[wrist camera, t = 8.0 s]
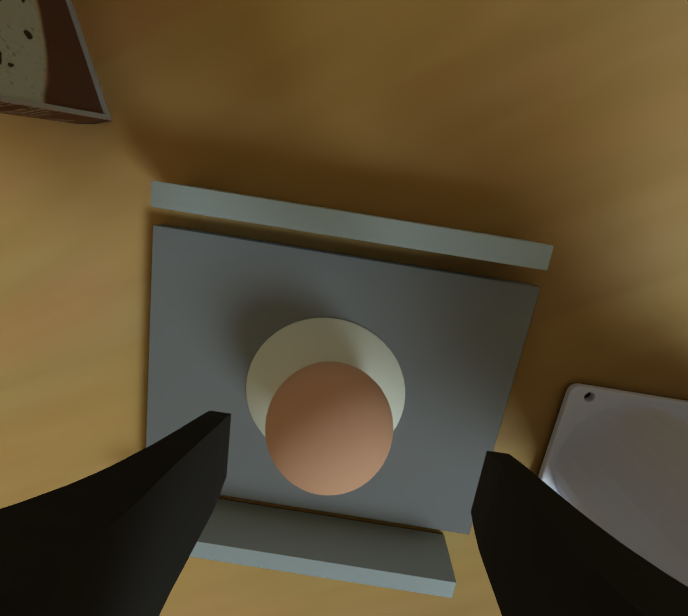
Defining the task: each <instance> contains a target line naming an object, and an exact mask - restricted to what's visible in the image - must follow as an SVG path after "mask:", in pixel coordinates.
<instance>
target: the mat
mask: <svg viewBox="0 0 688 616" xmlns="http://www.w3.org/2000/svg"><path fill="white" fill-rule="evenodd" d="M539 290H540V287H537V286H535V285H533V284H527V283H521V282H515V281H508V280H502V279H496V278H490V277H484V276H477V275H471V274H465V273H459V272H453V271H446V270H440V269H434V268H428V267H422V266H415V265H409V264H403V263H397V262H391V261H385V260H378V259H372V258H366V257H360V256H354V255H347V254H341V253H335V252H329V251H323V250H316V249H310V248H304V247H298V246H292V245H285V244H279V243H273V242H267V241H261V240H254V239H248V238H242V237H236V236H230V235H223V234H217V233H211V232H205V231H199V230H192V229H186V228H180V227H174V226H168V225H153V245H152V277H151V308H150V339H149V370H148V402H147V433H146V448H147V447H148V446H150V445H152V444H154V443H156V442H157V441H159V440H161V439H163V438H164V437H166V436H168V435H169V434H171V433H173V432H174V431H176V430H178V429H179V428H181V427H183V426H184V425H186V424H188V423H189V422H191V421H193V420H194V419H196V418H197V417H199V416H201V415H202V414H204V413H206V412H208V411H217V412H224V413H231V424H230V438H229V451H228V465H227V477H226V479H225V482H224V485H223V487H222V490H221V493H220V495H224V496H231V497H237V498H243V499H250V500H256V501H262V502H268V503H275V504H281V505H287V506H294V507H300V508H306V509H312V510H319V511H325V512H331V513H337V514H344V515H350V516H356V517H363V518H369V519H375V520H381V521H388V522H394V523H400V524H406V525H413V526H419V527H425V528H432V529H438V530H444V531H450V532H457V533H463V534H469V532H470V529H471V525H472V522H473V521H472V516H471V509H472V505H473V501H474V497H475V493H476V490H477V486H478V482H479V478H480V475H481V471H482V467H483V463H484V459H485V456H486V452H487V451H492V452H493V449H494V446H495V442H496V439H497V435H498V432H499V429H500V425H501V422H502V418H503V415H504V411H505V408H506V404H507V401H508V397H509V394H510V391H511V387H512V384H513V380H514V377H515V373H516V370H517V366H518V363H519V359H520V356H521V353H522V349H523V346H524V342H525V339H526V335H527V332H528V328H529V325H530V321H531V318H532V315H533V311H534V308H535V304H536V301H537V297H538V294H539ZM320 362H341V363H345V364H348V365H351V366H354V367H356V368H358V369H360V370H362V371H363V372H365V373H366V374H368V375H369V376H370V377H371V378H372V379H373V380H374V381H375V382H376V383H377V384H378V385H379V386H380V388H381V389H382V391H383V393H384V394H385V396H386V398H387V400H388V403H389V405H390V408H391V412H392V417H393V438H392V443H391V448H390V451H389V453H388V456H387V458H386V460H385V462H384V464H383V465H382V467H381V468H380V470H379V471H378V472H377V473H376V474H375V475H374V476H373V478H371V479H370V480H369V481H368V482H367V483H365V484H364V485H362V486H361V487H359V488H357V489H355V490H353V491H350V492H347V493H344V494H339V495H318V494H313V493H309V492H307V491H304V490H302V489H300V488H299V487H297V486H295V485H293V484H292V483H291V482H289V481H288V480H287V479H286V478H285V477H284V476H283V475H282V474H281V473H280V471H279V470H278V469H277V467H276V466H275V464H274V462H273V460H272V458H271V456H270V454H269V451H268V447H267V443H266V438H265V422H266V415H267V412H268V408H269V405H270V402H271V400H272V398H273V396H274V394H275V393H276V391H277V389H278V388H279V387H280V386H281V384H282V383H283V382H284V381H285V380H286V379H287V378H288V377H289V376H291V375H292V374H293V373H295V372H296V371H298V370H300V369H301V368H303V367H306V366H308V365H311V364H315V363H320Z"/></svg>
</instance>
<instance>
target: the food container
mask: <svg viewBox="0 0 688 616" xmlns="http://www.w3.org/2000/svg"><path fill="white" fill-rule="evenodd" d="M0 113H4V114H12V115H19V116H26V117H33V118H40V119H47V120H54V121H61V122H68V123H76V124H97V123H102V122H108V121H112V119H111V116H110V113H109V110H108V107H107V104H106V101H105V98H104V95H103V92H102V89H101V86H100V83H99V80H98V77H97V74H96V71H95V68H94V65H93V62H92V59H91V56H90V53H89V50H88V47H87V44H86V41H85V38H84V35H83V32H82V29H81V26H80V23H79V20H78V17H77V14H76V11H75V8H74V5H73V2H72V0H0Z"/></svg>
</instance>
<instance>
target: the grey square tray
mask: <svg viewBox="0 0 688 616" xmlns="http://www.w3.org/2000/svg"><path fill="white" fill-rule="evenodd" d="M151 207H156V208H163V209H169V210H175V211H181V212H187V213H193V214H200V215H206V216H212V217H218V218H224V219H231V220H237V221H243V222H249V223H255V224H262V225H268V226H274V227H280V228H286V229H293V230H299V231H305V232H311V233H317V234H323V235H330V236H336V237H342V238H348V239H354V240H361V241H367V242H373V243H379V244H385V245H392V246H398V247H404V248H410V249H416V250H423V251H429V252H435V253H441V254H447V255H453V256H460V257H466V258H472V259H478V260H484V261H491V262H497V263H503V264H509V265H515V266H522V267H528V268H534V269H540V270H546V271H547V269H548V266H549V262H550V259H551V255H552V252H553V248H554V246H553V245H548V244H543V243H539V242H534V241H529V240H524V239H518V238H512V237H505V236H499V235H493V234H487V233H481V232H474V231H468V230H462V229H456V228H450V227H444V226H437V225H431V224H425V223H419V222H413V221H406V220H400V219H394V218H388V217H382V216H376V215H369V214H363V213H357V212H351V211H345V210H338V209H332V208H326V207H320V206H314V205H308V204H301V203H295V202H289V201H283V200H277V199H270V198H264V197H258V196H252V195H246V194H240V193H233V192H227V191H221V190H215V189H209V188H202V187H196V186H190V185H184V184H176V183H167V182H159V181H152V186H151ZM190 557H196V558H203V559H209V560H215V561H222V562H228V563H234V564H240V565H247V566H253V567H259V568H266V569H272V570H278V571H285V572H291V573H297V574H303V575H310V576H316V577H322V578H329V579H335V580H341V581H347V582H354V583H360V584H366V585H373V586H379V587H385V588H392V589H398V590H404V591H410V592H417V593H423V594H429V595H436V596H442V597H448V598H452V596H453V592H454V589H455V585H456V580H455V576H454V572H453V568H452V564H451V560H450V556H449V553H448V549H447V545H446V541H445V537H444V535H443V534H437V533H431V532H425V531H418V530H412V529H406V528H399V527H393V526H387V525H381V524H374V523H368V522H362V521H355V520H349V519H343V518H337V517H330V516H324V515H318V514H312V513H305V512H299V511H293V510H286V509H280V508H274V507H268V506H261V505H255V504H249V503H242V502H236V501H230V500H224V499H218V500H217V503H216V505H215V508H214V510H213V512H212V514H211V516H210V518H209V520H208V522H207V524H206V526H205V528H204V530H203V532H202V533H201V535H200V537H199V539H198V541H197V543H196V545H195V547H194V549H193V550H192V552H191V554H190Z"/></svg>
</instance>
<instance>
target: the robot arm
mask: <svg viewBox="0 0 688 616" xmlns="http://www.w3.org/2000/svg"><path fill="white" fill-rule="evenodd" d="M588 392H590V396H589V397H587V398H584V396H585V394H587V393H588ZM230 424H231V413H224V412H217V411H208V412H206V413H204V414H202V415H201V416H199V417H197V418H196V419H194V420H193V421H191V422H189V423H188V424H186V425H184V426H183V427H181V428H179V429H178V430H176V431H174V432H173V433H171V434H169V435H168V436H166V437H164V438H163V439H161V440H159V441H157V442H156V443H154V444H152V445H150V446H148V447H147V448H145V449H143V450H141V451H139V452H137V453H135V454H133V455H132V456H130V457H128V458H126V459H124V460H122V461H120V462H118V463H116V464H114V465H112V466H110V467H108V468H106V469H104V470H102V471H99V472H97V473H95V474H93V475H90V476H88V477H86V478H83V479H81V480H79V481H76V482H74V483H72V484H69V485H67V486H64V487H61V488H59V489H56V490H53V491H50V492H48V493H45V494H42V495H39V496H37V497H34V498H31V499H28V500H26V501H23V502H20V503H17V504H14V505H11V506H8V507H5V508H2V509H0V616H159V614H160V612H161V610H162V608H163V606H164V604H165V602H166V600H167V598H168V596H169V594H170V592H171V590H172V588H173V586H174V584H175V582H176V580H177V579H178V577H179V575H180V573H181V571H182V569H183V567H184V565H185V564H186V562H187V560H188V558H189V556H190V554H191V552H192V550H193V549H194V547H195V545H196V543H197V541H198V539H199V537H200V535H201V533H202V532H203V530H204V528H205V526H206V524H207V522H208V520H209V518H210V516H211V514H212V512H213V510H214V508H215V505H216V503H217V500H218V498H219V495H220V493H221V490H222V487H223V485H224V482H225V479H226V477H227V465H228V451H229V438H230ZM471 516H472V521H473V526H474V531H475V535H476V539H477V544H478V548H479V551H480V554H481V557H482V560H483V563H484V566H485V569H486V572H487V575H488V577H489V580H490V583H491V586H492V589H493V591H494V594H495V597H496V600H497V603H498V605H499V608H500V611H501V614H502V616H688V401H685V400H679V399H673V398H667V397H661V396H654V395H648V394H642V393H636V392H629V391H623V390H617V389H611V388H605V387H598V386H592V385H586V384H580V383H575V384H572V385H570V386H569V387H568V389H567V390H566V393H565V396H564V399H563V402H562V405H561V408H560V411H559V414H558V417H557V420H556V423H555V426H554V429H553V432H552V435H551V438H550V442H549V445H548V448H547V451H546V454H545V457H544V460H543V463H542V466H541V469H540V472H539V475H538V477H537V476H536V475H535V474H534V473H533V472H531V471H530V470H529V469H528V468H527V467H525V466H524V465H523V464H522V463H520V462H519V461H518V460H516V459H515V458H514V457H512V456H511V455H509V454H506V453H499V452H492V451H487V452H486V456H485V459H484V463H483V467H482V471H481V475H480V478H479V482H478V486H477V490H476V493H475V497H474V501H473V505H472V509H471Z"/></svg>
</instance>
